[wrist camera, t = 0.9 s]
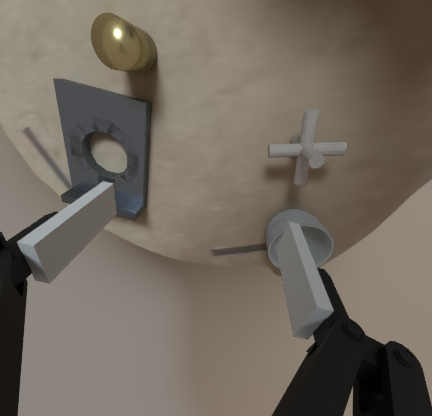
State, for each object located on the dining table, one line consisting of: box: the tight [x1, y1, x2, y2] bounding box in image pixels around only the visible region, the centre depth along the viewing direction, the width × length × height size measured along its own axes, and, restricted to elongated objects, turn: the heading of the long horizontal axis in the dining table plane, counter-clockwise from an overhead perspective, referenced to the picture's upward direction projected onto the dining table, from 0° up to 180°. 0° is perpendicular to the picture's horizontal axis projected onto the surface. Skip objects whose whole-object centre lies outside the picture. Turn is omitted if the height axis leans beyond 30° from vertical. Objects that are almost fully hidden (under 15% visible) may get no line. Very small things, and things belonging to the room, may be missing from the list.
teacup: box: [265, 209, 334, 269], centre depth 38 cm, size 14×11×8 cm
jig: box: [53, 78, 151, 220], centre depth 34 cm, size 20×14×5 cm
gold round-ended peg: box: [91, 13, 157, 73], centre depth 25 cm, size 5×5×7 cm
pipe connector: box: [268, 110, 347, 185], centre depth 28 cm, size 10×10×10 cm
